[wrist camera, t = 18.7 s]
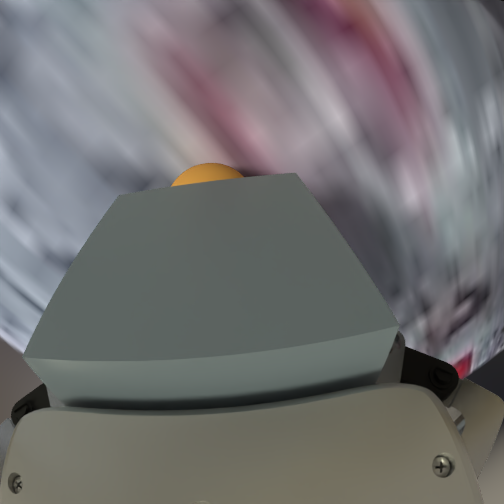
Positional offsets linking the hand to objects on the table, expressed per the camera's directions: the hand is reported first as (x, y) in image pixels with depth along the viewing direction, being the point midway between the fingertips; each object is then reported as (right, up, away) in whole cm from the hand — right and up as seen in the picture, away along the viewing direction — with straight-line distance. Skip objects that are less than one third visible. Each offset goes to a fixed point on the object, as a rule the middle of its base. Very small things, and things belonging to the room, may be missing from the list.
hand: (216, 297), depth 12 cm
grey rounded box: (0, +2, +2) cm, 3 cm away
